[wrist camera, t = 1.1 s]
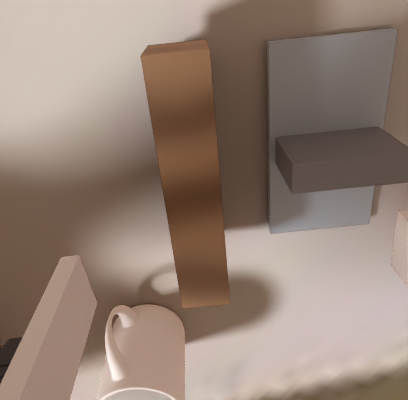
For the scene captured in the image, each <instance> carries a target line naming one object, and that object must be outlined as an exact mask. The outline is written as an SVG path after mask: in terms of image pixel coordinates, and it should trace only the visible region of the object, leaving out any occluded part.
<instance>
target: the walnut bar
mask: <svg viewBox="0 0 408 400" xmlns="http://www.w3.org/2000/svg"><path fill="white" fill-rule="evenodd" d="M141 62H142V68H143V74H144V80H145V86H146V92H147V98H148V104H149V110H150V116H151V122H152V128H153V134H154V140H155V146H156V152H157V158H158V164H159V170H160V176H161V182H162V188H163V194H164V200H165V206H166V212H167V218H168V224H169V230H170V236H171V243H172V249H173V255H174V261H175V267H176V273H177V279H178V285H179V291H180V297H181V303H182V309H183V308H193V307H203V306H213V305H223V304H230V298H229V285H228V272H227V260H226V247H225V235H224V222H223V210H222V197H221V184H220V172H219V159H218V147H217V134H216V122H215V109H214V97H213V84H212V71H211V59H210V48H209V46H208V44H207V41H206V39H205V40H195V41H186V42H176V43H167V44H157V45H148V46H147V48H146V49H145V50H144V52H143V53H142V55H141Z"/></svg>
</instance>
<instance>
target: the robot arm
mask: <svg viewBox="0 0 408 400" xmlns="http://www.w3.org/2000/svg"><path fill="white" fill-rule="evenodd" d="M391 266H392V267H393V268H394V270H395V271H396V272H397V274H398V275H399V276H400V278H401V279H402V280H403V282H404V283H405V284H406V286H407V287H408V210H402V211H398V214H397V222H396V229H395V236H394V243H393V250H392V258H391ZM96 306H97V301H96V298H95V295H94V293H93V290H92V288H91V285H90V282H89V280H88V277H87V274H86V272H85V269H84V266H83V264H82V261H81V258H80V256H79V255H73V256H66V257H61V258H60V260H59V262H58V265H57V267H56V269H55V271H54V273H53V275H52V277H51V279H50V281H49V283H48V285H47V288H46V290H45V292H44V294H43V296H42V298H41V300H40V302H39V304H38V306H37V308H36V311H35V313H34V315H33V317H32V319H31V321H30V323H29V325H28V327H27V329H26V331H25V334H24V336H23V337H20V338H13V339H9V340H8V341H7V342H6V344H5V345H4V346H3V347H2V348H1V349H0V400H70V396H71V393H72V389H73V386H74V382H75V379H76V376H77V372H78V369H79V365H80V362H81V358H82V355H83V351H84V348H85V344H86V341H87V338H88V334H89V331H90V327H91V324H92V320H93V317H94V313H95V310H96Z"/></svg>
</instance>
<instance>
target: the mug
mask: <svg viewBox="0 0 408 400" xmlns="http://www.w3.org/2000/svg"><path fill="white" fill-rule="evenodd" d="M115 314H118V318H117V319H116V321H115V323H114V325H113V328H112V319H113V317H114V315H115ZM105 347H106V358H105V362H104V367H103V371H102V376H101V380H100V385H99V389H98V394H97V398H96V400H185V331H184V326H183V323H182V321H181V320H180V318H179V317H178V316H177V315H176V314H175V313H174V312H173V311H171V310H169V309H167V308H165V307H162V306H159V305H152V304H144V305H137V306H134V307H131V308H130V307H127V306H125V305H118V306H116V307H114V308H113V310H112V311H111V313H110V315H109V318H108V321H107V325H106V332H105Z"/></svg>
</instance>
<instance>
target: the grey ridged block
mask: <svg viewBox="0 0 408 400" xmlns="http://www.w3.org/2000/svg"><path fill="white" fill-rule="evenodd" d="M397 32H398V29H395V28H386V29H377V30H367V31H358V32H348V33H339V34H329V35H320V36H310V37H301V38H291V39H281V40H272V41H267V123H268V227H269V231H270V234H275V233H285V232H295V231H305V230H315V229H325V228H334V227H344V226H354V225H364V224H369V222H370V215H371V208H372V202H373V195H374V188H375V186H377V185H387V184H396V183H406V182H408V147H407V146H406V145H404V144H403V143H401V142H400V141H399V140H397V139H396V138H394V137H393V136H391V135H390V134H388V133H387V132H385V131H384V130H383V127H384V120H385V114H386V107H387V100H388V93H389V87H390V80H391V73H392V66H393V60H394V53H395V46H396V39H397Z"/></svg>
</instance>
